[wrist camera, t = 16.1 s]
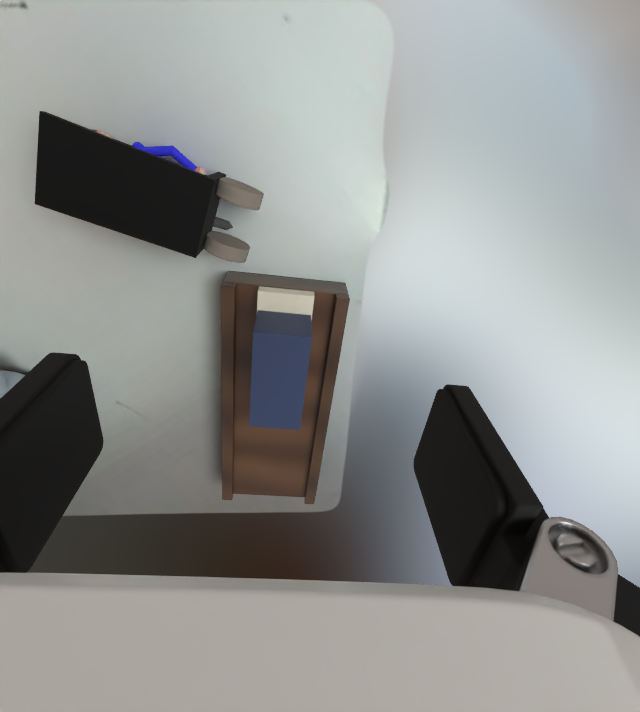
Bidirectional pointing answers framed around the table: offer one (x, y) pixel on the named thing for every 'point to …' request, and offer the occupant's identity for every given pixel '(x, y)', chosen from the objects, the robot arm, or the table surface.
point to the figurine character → (137, 190)
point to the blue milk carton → (280, 357)
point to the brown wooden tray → (240, 441)
